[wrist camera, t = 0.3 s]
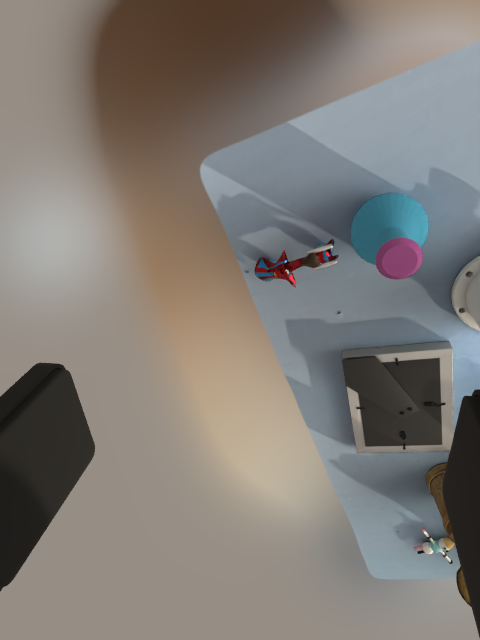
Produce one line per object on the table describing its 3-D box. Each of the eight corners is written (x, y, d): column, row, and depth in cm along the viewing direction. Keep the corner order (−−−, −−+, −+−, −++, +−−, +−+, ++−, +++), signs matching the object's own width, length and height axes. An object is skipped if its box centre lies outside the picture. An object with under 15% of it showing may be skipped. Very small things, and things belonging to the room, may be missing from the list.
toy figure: (402, 540, 81) (444, 530, 77) (400, 529, 84) (441, 518, 80) (432, 573, 85) (474, 565, 81) (429, 561, 87) (470, 552, 83)
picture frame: (341, 350, 66) (356, 444, 75) (342, 360, 64) (357, 456, 73) (448, 340, 61) (450, 442, 70) (453, 351, 59) (454, 455, 68)
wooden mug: (429, 512, 80) (451, 613, 64) (424, 463, 74) (447, 561, 59) (480, 512, 77) (516, 618, 62) (479, 461, 71) (518, 563, 56)
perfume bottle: (339, 242, 57) (340, 286, 45) (365, 176, 53) (375, 205, 40) (402, 261, 57) (421, 312, 44) (434, 197, 52) (466, 233, 39)
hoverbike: (252, 252, 61) (244, 267, 56) (331, 228, 57) (330, 241, 52) (263, 283, 63) (257, 299, 58) (341, 261, 59) (341, 276, 54)
